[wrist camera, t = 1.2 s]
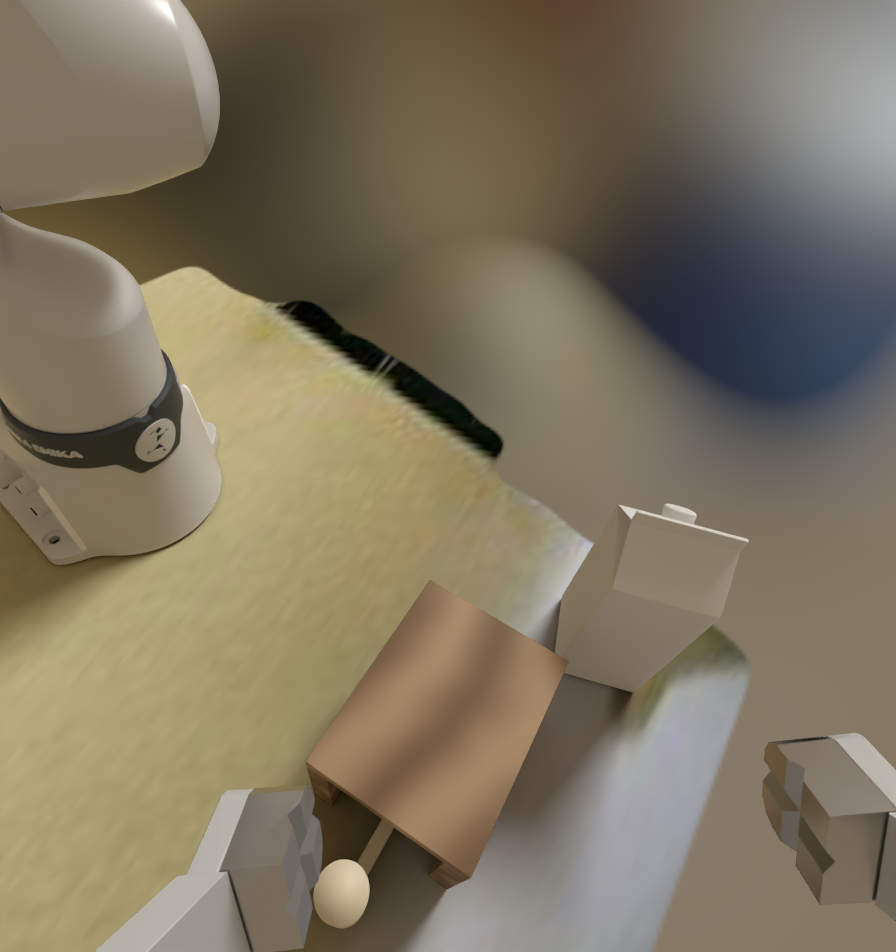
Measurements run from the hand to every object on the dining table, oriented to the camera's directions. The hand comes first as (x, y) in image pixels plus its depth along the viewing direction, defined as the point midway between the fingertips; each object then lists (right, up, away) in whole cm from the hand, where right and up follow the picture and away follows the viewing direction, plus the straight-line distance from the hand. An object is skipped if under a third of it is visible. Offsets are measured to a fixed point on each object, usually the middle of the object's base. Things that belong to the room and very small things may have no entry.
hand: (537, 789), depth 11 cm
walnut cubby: (-3, -15, +34) cm, 38 cm away
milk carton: (+11, -9, +41) cm, 44 cm away
